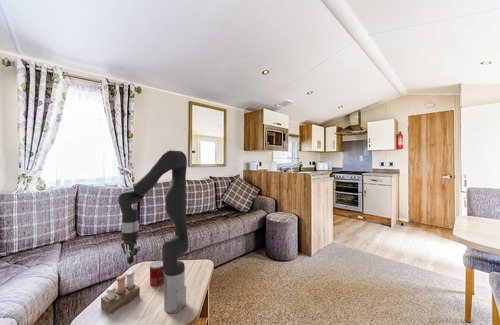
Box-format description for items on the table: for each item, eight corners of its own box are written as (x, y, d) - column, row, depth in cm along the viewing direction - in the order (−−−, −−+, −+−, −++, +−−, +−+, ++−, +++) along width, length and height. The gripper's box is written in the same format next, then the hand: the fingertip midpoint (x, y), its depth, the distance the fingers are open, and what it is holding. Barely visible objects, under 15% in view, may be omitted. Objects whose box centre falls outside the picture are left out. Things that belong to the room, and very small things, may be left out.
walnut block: (139, 296, 105) (139, 286, 105) (110, 314, 93) (110, 303, 92) (130, 291, 109) (130, 282, 109) (101, 308, 96) (101, 297, 96)
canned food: (159, 287, 112) (159, 268, 112) (146, 285, 113) (146, 266, 113) (167, 279, 119) (167, 261, 119) (155, 278, 121) (155, 259, 121)
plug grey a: (117, 305, 97) (117, 287, 97) (109, 310, 94) (109, 292, 94) (113, 302, 99) (113, 285, 99) (104, 307, 96) (104, 289, 96)
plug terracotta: (127, 294, 101) (127, 276, 101) (119, 298, 98) (119, 280, 98) (122, 291, 103) (122, 274, 103) (114, 296, 100) (114, 278, 100)
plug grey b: (136, 289, 105) (136, 272, 105) (128, 293, 102) (128, 275, 102) (131, 286, 107) (131, 270, 107) (124, 290, 104) (124, 273, 104)
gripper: (145, 229, 104) (145, 263, 104) (129, 225, 110) (129, 256, 111) (130, 234, 97) (130, 270, 98) (115, 229, 104) (115, 263, 104)
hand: (130, 263), depth 104 cm, fingers closed
